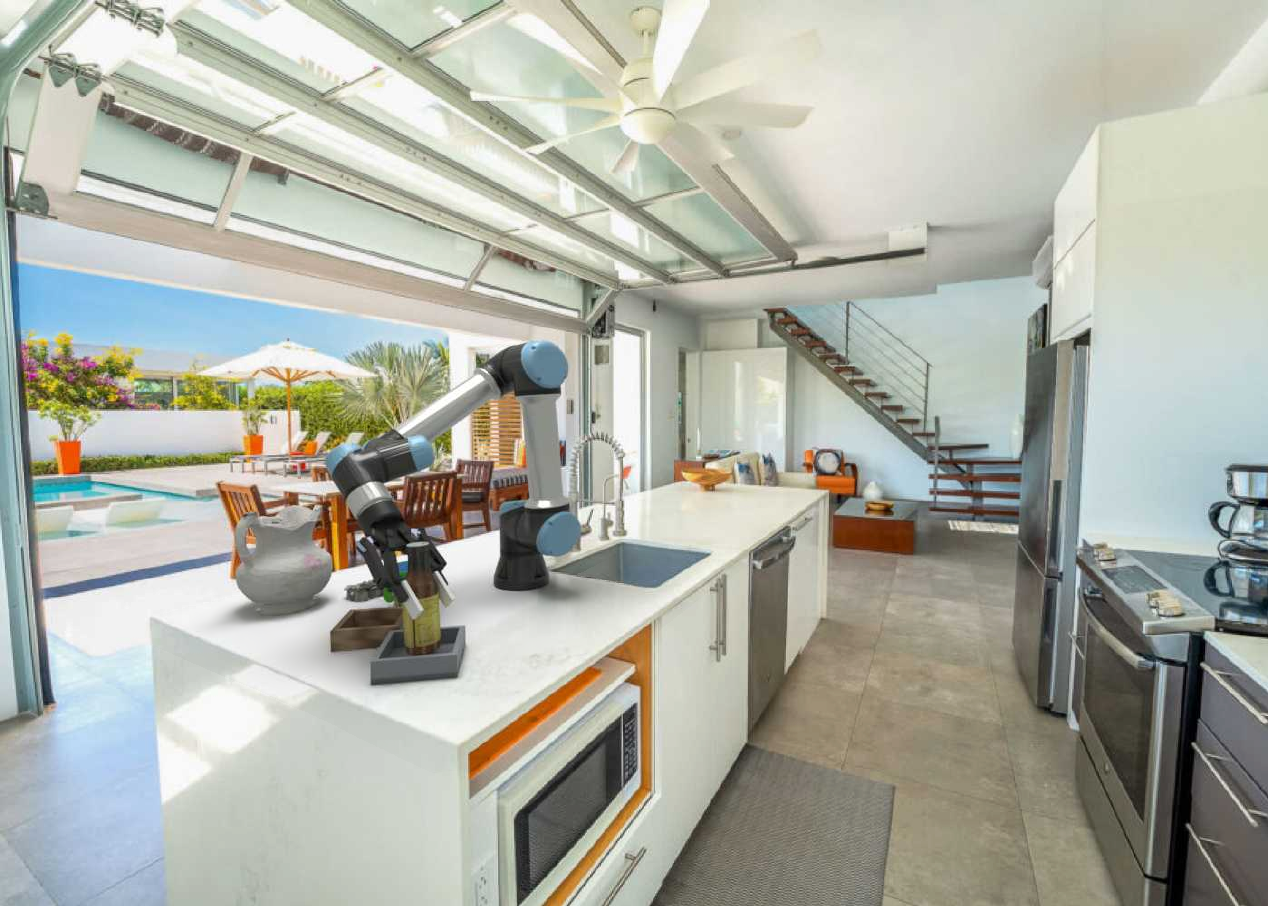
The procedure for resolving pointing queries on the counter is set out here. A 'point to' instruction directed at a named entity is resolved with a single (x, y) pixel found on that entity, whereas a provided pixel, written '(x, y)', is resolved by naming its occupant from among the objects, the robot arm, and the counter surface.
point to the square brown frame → (365, 628)
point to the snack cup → (402, 570)
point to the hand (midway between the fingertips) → (434, 608)
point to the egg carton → (363, 591)
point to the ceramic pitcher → (282, 560)
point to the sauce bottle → (422, 603)
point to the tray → (418, 658)
